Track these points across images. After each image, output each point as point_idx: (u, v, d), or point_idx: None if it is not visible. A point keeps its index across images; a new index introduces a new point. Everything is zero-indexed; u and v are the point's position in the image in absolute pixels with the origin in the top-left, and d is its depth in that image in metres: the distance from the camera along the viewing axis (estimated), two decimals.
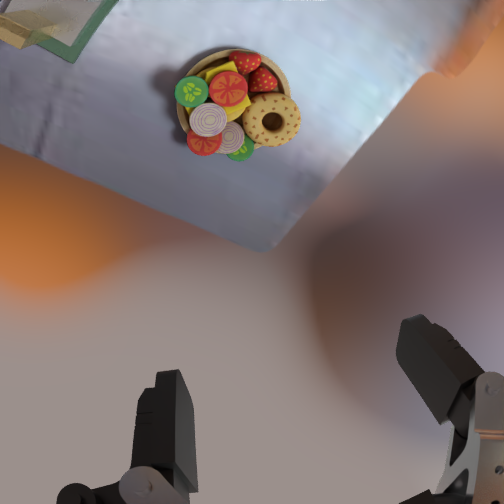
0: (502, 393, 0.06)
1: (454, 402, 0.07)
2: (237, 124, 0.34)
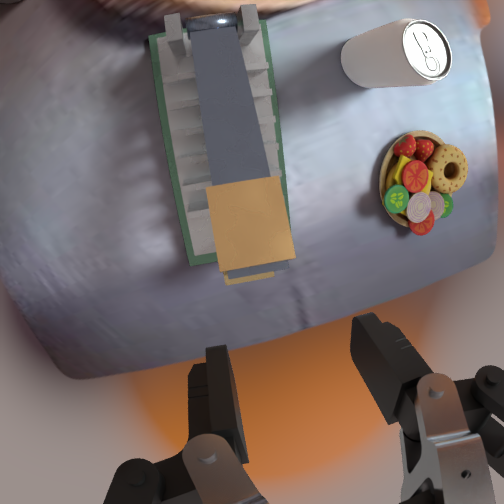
0: (446, 396, 0.07)
1: (398, 402, 0.08)
2: (431, 192, 0.37)
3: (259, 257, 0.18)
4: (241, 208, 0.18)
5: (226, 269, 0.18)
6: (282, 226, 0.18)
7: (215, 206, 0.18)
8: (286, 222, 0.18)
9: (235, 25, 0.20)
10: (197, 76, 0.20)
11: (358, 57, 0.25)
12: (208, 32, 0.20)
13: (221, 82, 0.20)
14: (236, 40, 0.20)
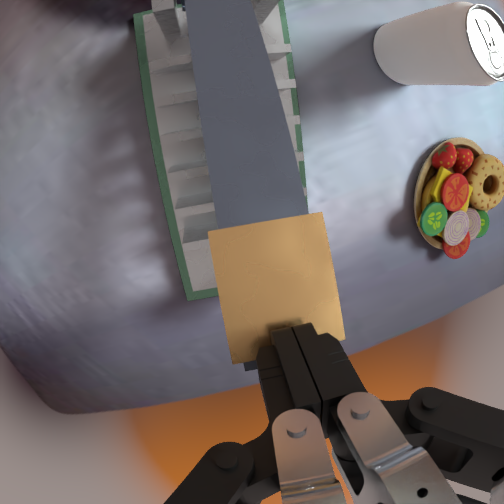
0: (369, 419, 0.07)
1: (325, 418, 0.08)
2: (468, 208, 0.30)
3: None
4: (264, 266, 0.12)
5: (242, 361, 0.11)
6: (327, 293, 0.12)
7: (223, 263, 0.12)
8: (333, 287, 0.12)
9: None
10: (194, 56, 0.13)
11: (400, 46, 0.19)
12: (210, 0, 0.13)
13: (230, 65, 0.13)
14: (250, 10, 0.13)
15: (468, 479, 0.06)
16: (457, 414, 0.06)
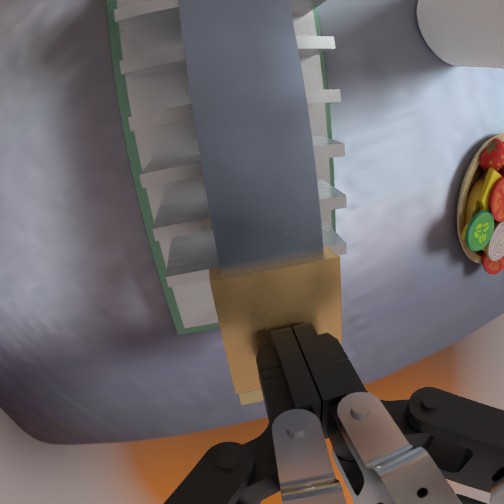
0: (370, 419, 0.07)
1: (325, 418, 0.08)
2: None
3: None
4: (271, 314, 0.11)
5: (245, 391, 0.12)
6: (331, 334, 0.12)
7: (228, 313, 0.11)
8: (338, 328, 0.11)
9: None
10: (184, 20, 0.08)
11: (457, 14, 0.11)
12: None
13: (237, 35, 0.08)
14: None
15: (468, 479, 0.06)
16: (457, 414, 0.06)
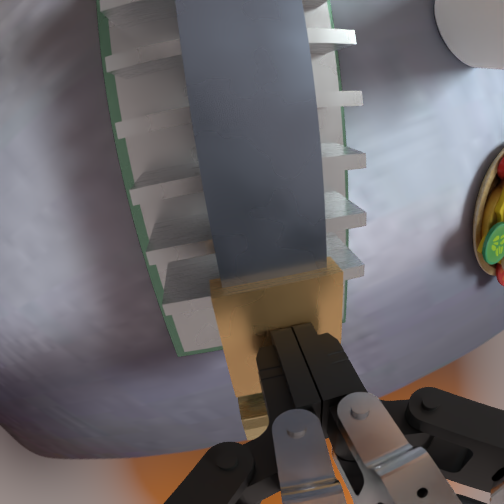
0: (369, 419, 0.07)
1: (325, 418, 0.08)
2: None
3: None
4: (272, 327, 0.11)
5: (245, 395, 0.12)
6: None
7: (229, 327, 0.10)
8: (338, 338, 0.12)
9: None
10: (181, 14, 0.07)
11: (481, 12, 0.10)
12: None
13: (242, 33, 0.07)
14: None
15: (468, 479, 0.06)
16: (457, 414, 0.06)
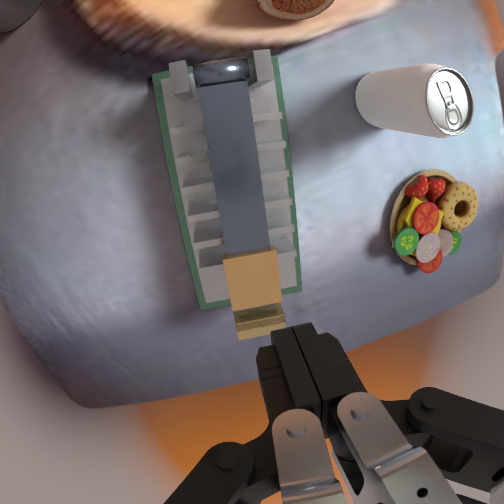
0: (369, 419, 0.07)
1: (325, 418, 0.08)
2: (441, 229, 0.36)
3: (258, 302, 0.28)
4: (247, 273, 0.26)
5: (237, 310, 0.28)
6: (275, 283, 0.27)
7: (229, 273, 0.26)
8: (278, 281, 0.27)
9: (247, 79, 0.21)
10: (210, 151, 0.23)
11: (375, 101, 0.25)
12: (218, 89, 0.21)
13: (233, 158, 0.23)
14: (247, 102, 0.22)
15: (468, 479, 0.06)
16: (457, 414, 0.06)
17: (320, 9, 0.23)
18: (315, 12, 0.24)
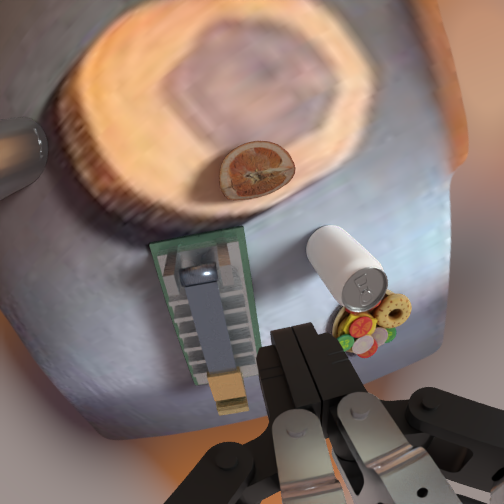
0: (369, 419, 0.07)
1: (325, 418, 0.08)
2: (377, 327, 0.50)
3: (230, 397, 0.41)
4: (223, 383, 0.40)
5: (217, 400, 0.41)
6: (240, 387, 0.41)
7: (211, 383, 0.40)
8: (242, 386, 0.40)
9: (217, 280, 0.34)
10: (195, 323, 0.36)
11: (316, 267, 0.39)
12: (198, 288, 0.34)
13: (210, 327, 0.36)
14: (218, 295, 0.35)
15: (468, 479, 0.06)
16: (457, 414, 0.06)
17: (279, 186, 0.37)
18: (275, 189, 0.37)
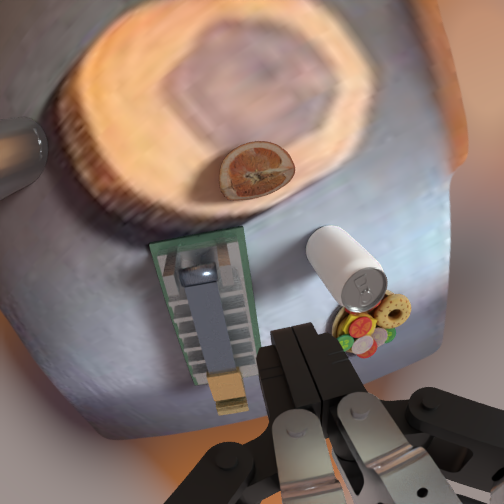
0: (370, 419, 0.07)
1: (325, 418, 0.08)
2: (377, 328, 0.50)
3: (230, 397, 0.41)
4: (222, 383, 0.40)
5: (217, 400, 0.41)
6: (240, 388, 0.41)
7: (211, 383, 0.40)
8: (242, 386, 0.41)
9: (216, 280, 0.34)
10: (195, 323, 0.36)
11: (315, 267, 0.39)
12: (197, 288, 0.34)
13: (210, 327, 0.36)
14: (217, 295, 0.35)
15: (468, 479, 0.06)
16: (457, 414, 0.06)
17: (279, 187, 0.37)
18: (274, 189, 0.37)
